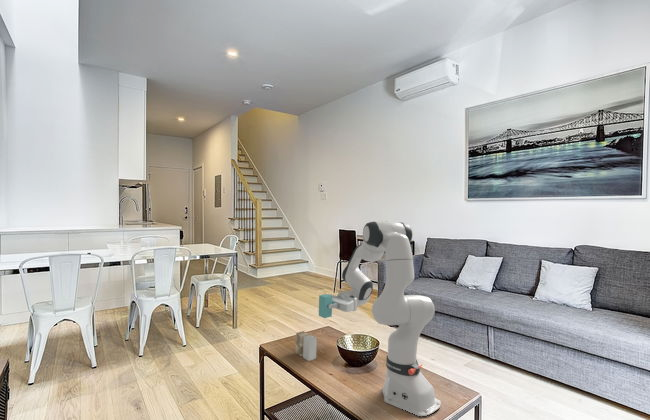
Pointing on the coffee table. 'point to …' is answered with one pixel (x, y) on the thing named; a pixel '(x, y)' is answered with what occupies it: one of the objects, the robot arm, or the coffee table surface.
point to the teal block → (325, 305)
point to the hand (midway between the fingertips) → (324, 305)
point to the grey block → (309, 347)
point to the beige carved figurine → (300, 342)
